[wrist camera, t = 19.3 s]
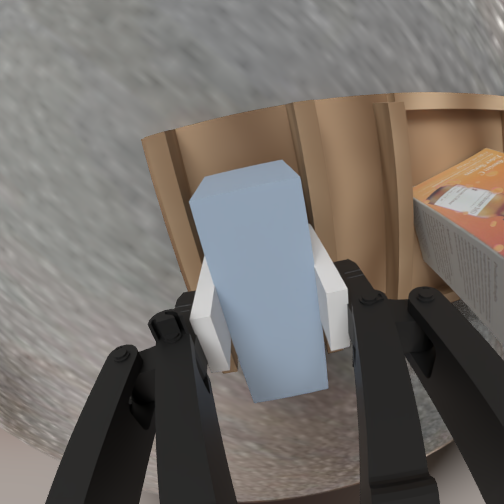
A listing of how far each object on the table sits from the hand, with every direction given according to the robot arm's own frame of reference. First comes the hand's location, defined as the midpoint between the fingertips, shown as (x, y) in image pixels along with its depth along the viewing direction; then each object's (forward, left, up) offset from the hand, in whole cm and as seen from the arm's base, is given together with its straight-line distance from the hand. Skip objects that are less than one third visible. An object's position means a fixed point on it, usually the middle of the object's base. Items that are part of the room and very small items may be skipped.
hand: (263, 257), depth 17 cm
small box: (+14, 0, -2) cm, 14 cm away
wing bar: (0, -1, -1) cm, 1 cm away
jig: (+7, 0, -3) cm, 8 cm away
